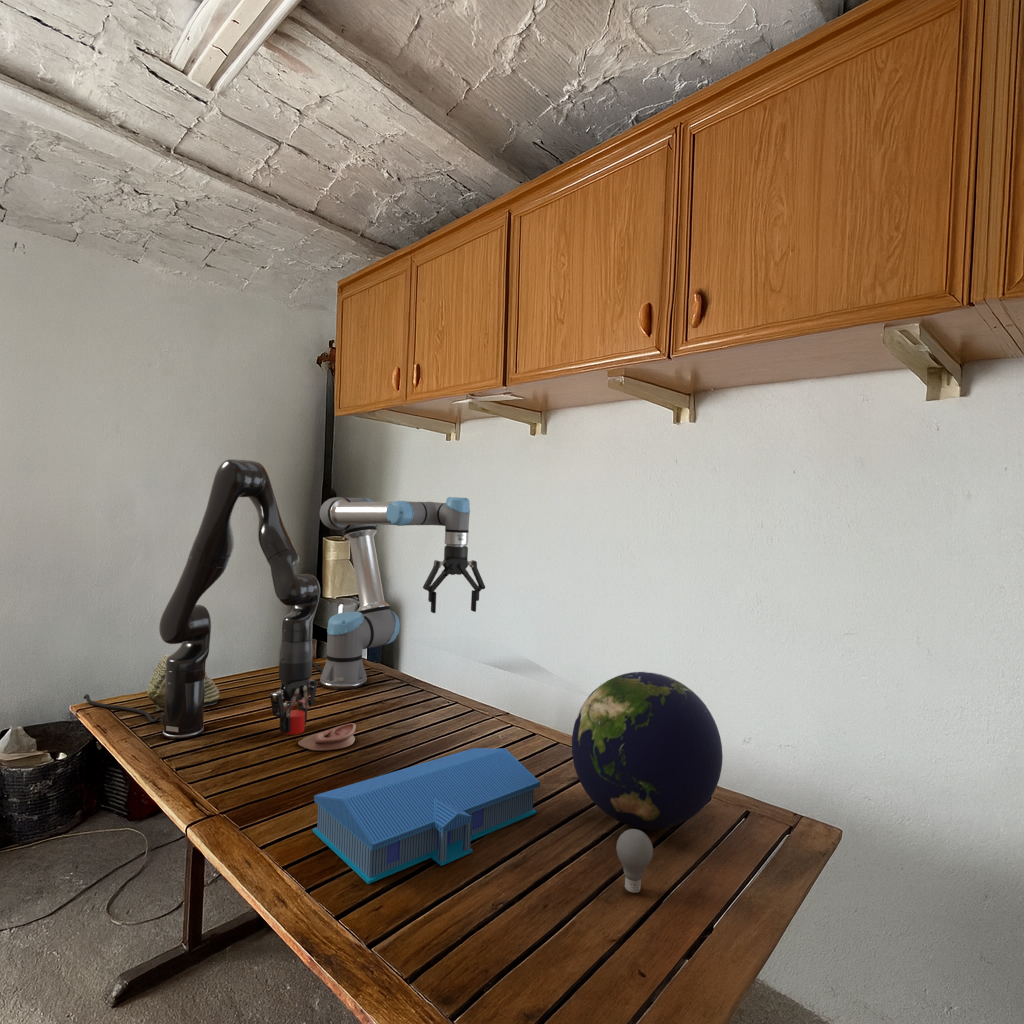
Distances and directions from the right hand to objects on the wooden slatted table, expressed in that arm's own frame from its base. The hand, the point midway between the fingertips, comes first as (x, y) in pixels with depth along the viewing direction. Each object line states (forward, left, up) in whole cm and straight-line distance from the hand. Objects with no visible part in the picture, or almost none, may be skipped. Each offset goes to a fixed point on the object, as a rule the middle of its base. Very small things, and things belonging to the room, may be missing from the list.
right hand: (453, 611), depth 203 cm
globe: (+86, +12, -28) cm, 92 cm away
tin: (+33, -51, -21) cm, 64 cm away
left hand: (+33, -51, -20) cm, 64 cm away
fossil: (-15, -77, -28) cm, 83 cm away
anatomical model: (+26, -42, -28) cm, 56 cm away
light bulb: (+105, -3, -28) cm, 109 cm away
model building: (+74, -28, -28) cm, 84 cm away
